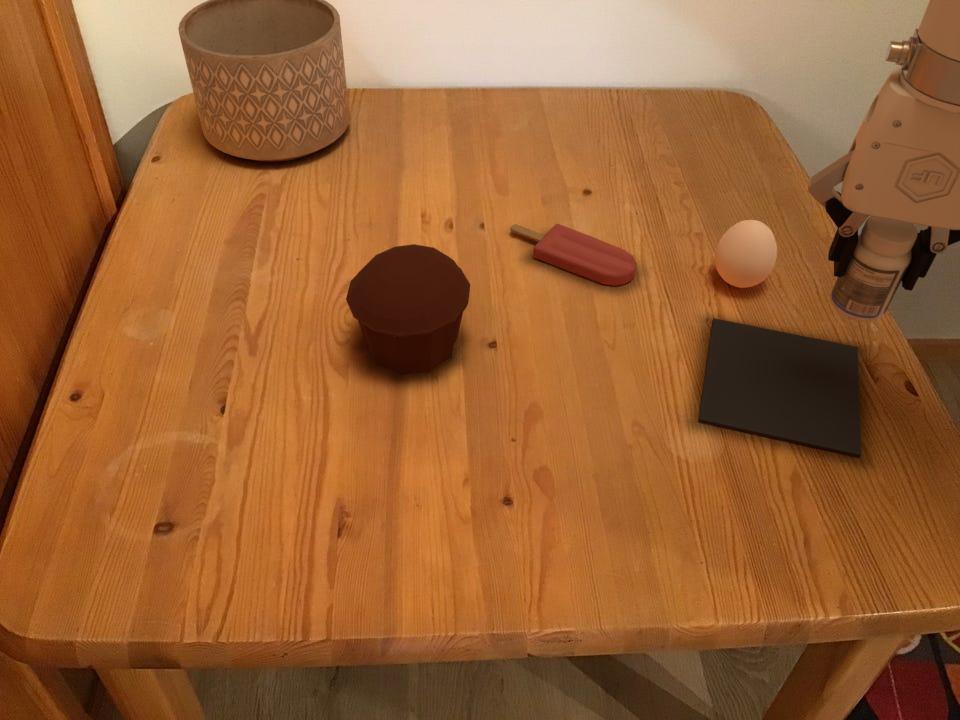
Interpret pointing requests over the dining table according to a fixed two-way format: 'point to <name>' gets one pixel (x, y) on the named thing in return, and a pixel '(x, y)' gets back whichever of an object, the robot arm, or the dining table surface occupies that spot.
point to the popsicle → (581, 254)
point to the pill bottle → (874, 269)
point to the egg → (746, 254)
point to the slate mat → (782, 387)
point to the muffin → (409, 307)
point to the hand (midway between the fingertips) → (872, 271)
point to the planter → (267, 76)
